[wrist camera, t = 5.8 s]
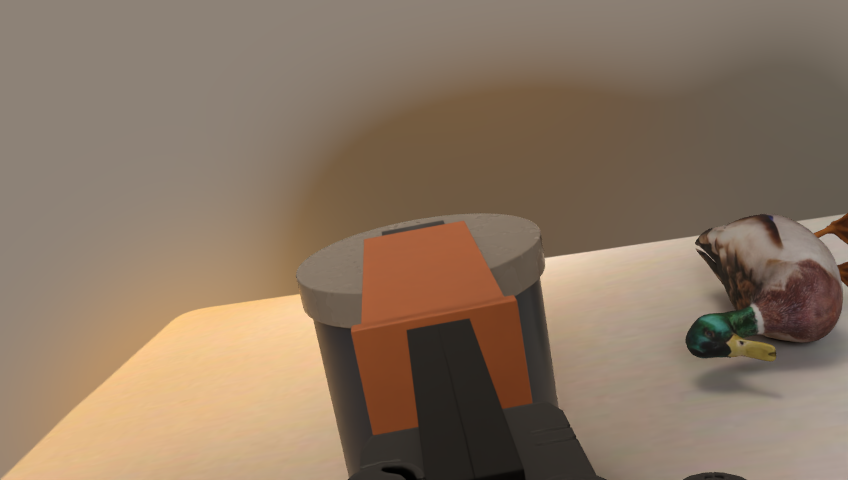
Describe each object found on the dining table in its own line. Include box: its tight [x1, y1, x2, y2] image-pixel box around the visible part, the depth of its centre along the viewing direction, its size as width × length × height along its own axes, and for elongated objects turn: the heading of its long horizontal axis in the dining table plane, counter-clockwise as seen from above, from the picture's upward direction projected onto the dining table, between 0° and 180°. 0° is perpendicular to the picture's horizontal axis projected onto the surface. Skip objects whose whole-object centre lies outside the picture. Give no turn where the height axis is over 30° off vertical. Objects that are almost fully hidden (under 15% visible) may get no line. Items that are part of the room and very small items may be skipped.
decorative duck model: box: [686, 213, 848, 361], centre depth 50 cm, size 15×8×15 cm
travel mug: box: [296, 214, 558, 478], centre depth 35 cm, size 11×11×14 cm
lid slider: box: [351, 221, 533, 435], centre depth 28 cm, size 11×5×5 cm, turn 4°
